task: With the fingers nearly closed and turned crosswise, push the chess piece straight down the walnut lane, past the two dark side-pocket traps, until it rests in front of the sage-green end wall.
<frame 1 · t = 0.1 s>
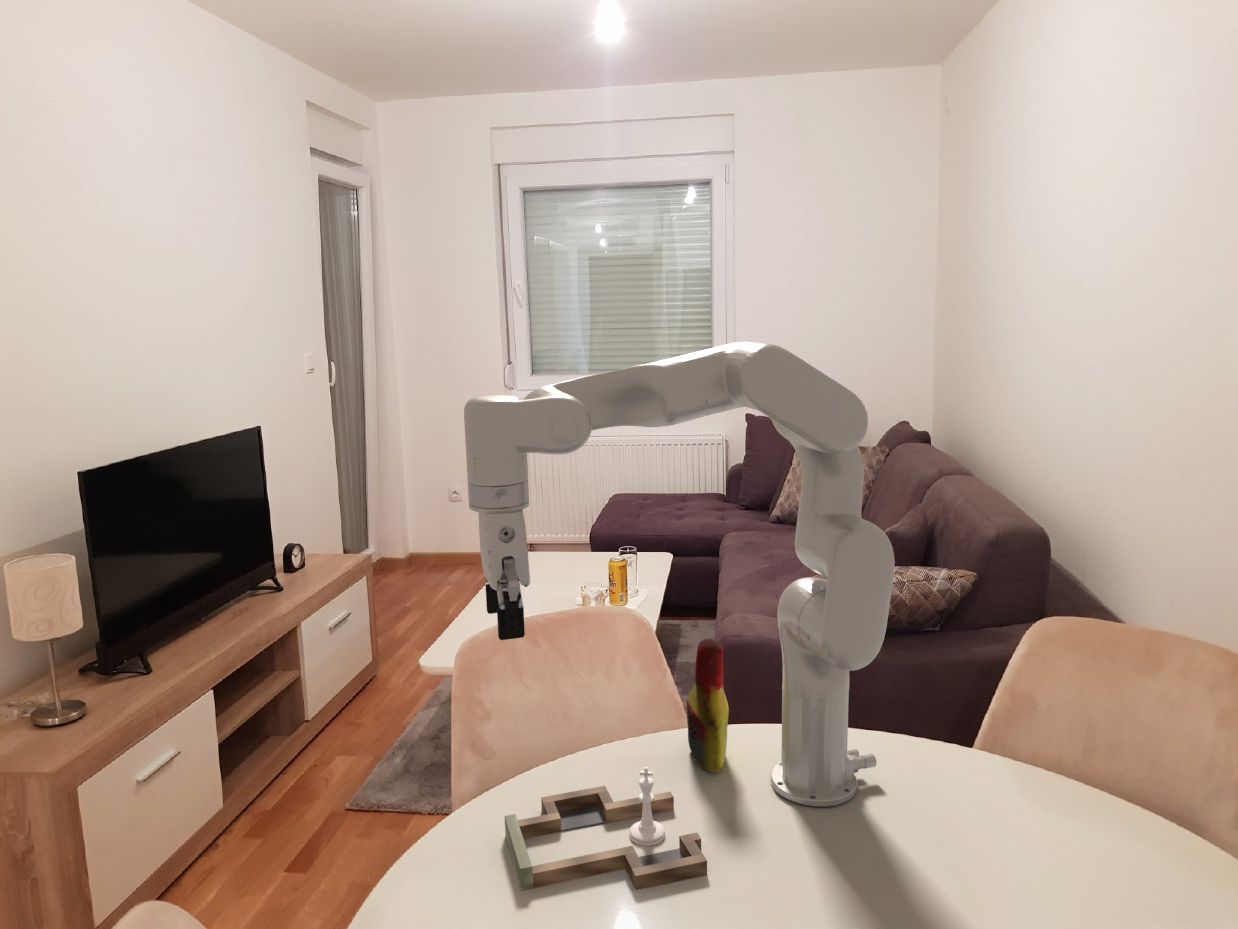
hand: (505, 624, 114), 31 cm above the table, tool pointing down, fingers open, 9 cm apart
trap lane: (601, 844, 119), on the table
chess piece: (647, 836, 121), on the table
bottle: (708, 760, 140), on the table
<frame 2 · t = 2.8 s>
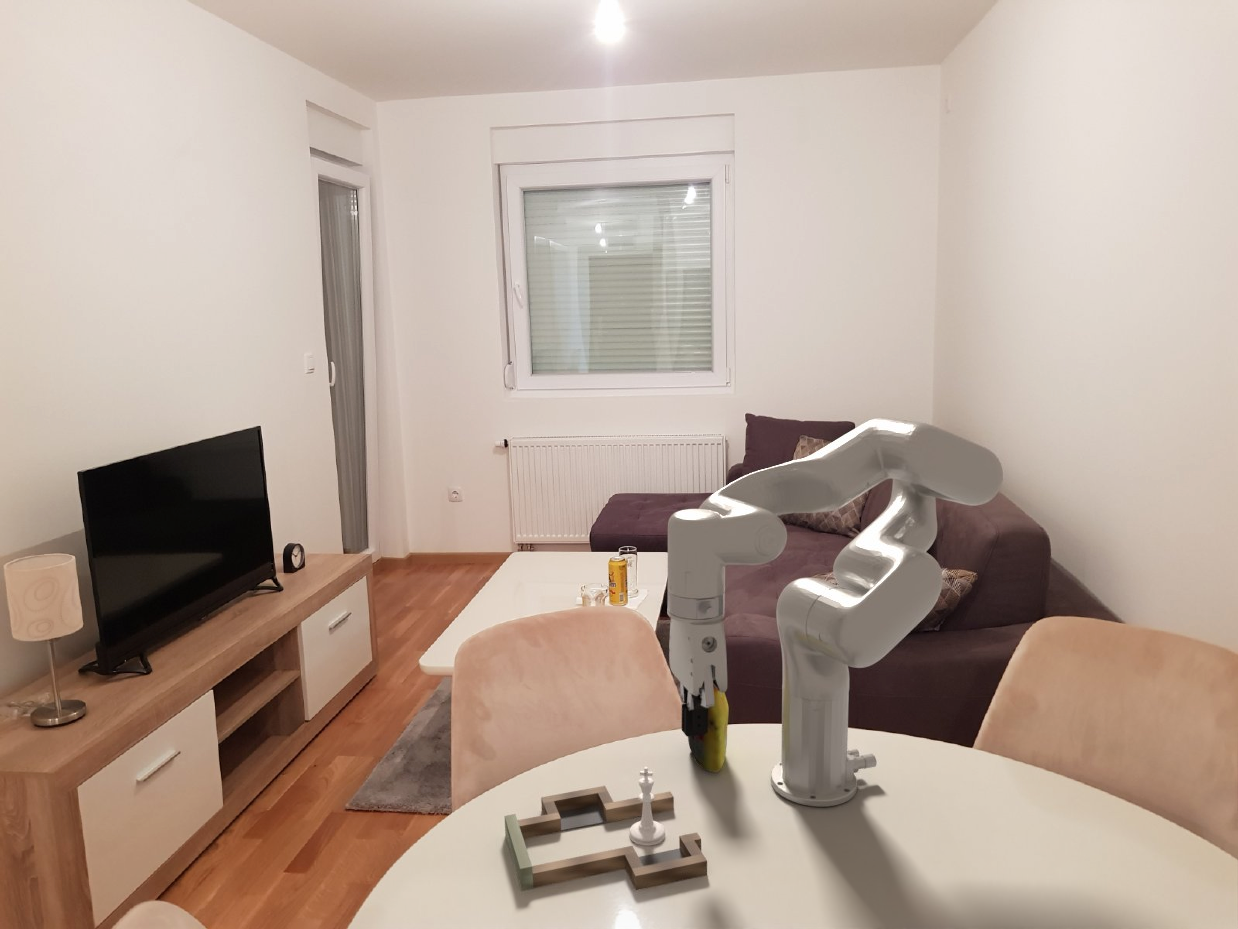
hand: (694, 732, 120), 14 cm above the table, tool pointing down, fingers closed
nothing on the table moved.
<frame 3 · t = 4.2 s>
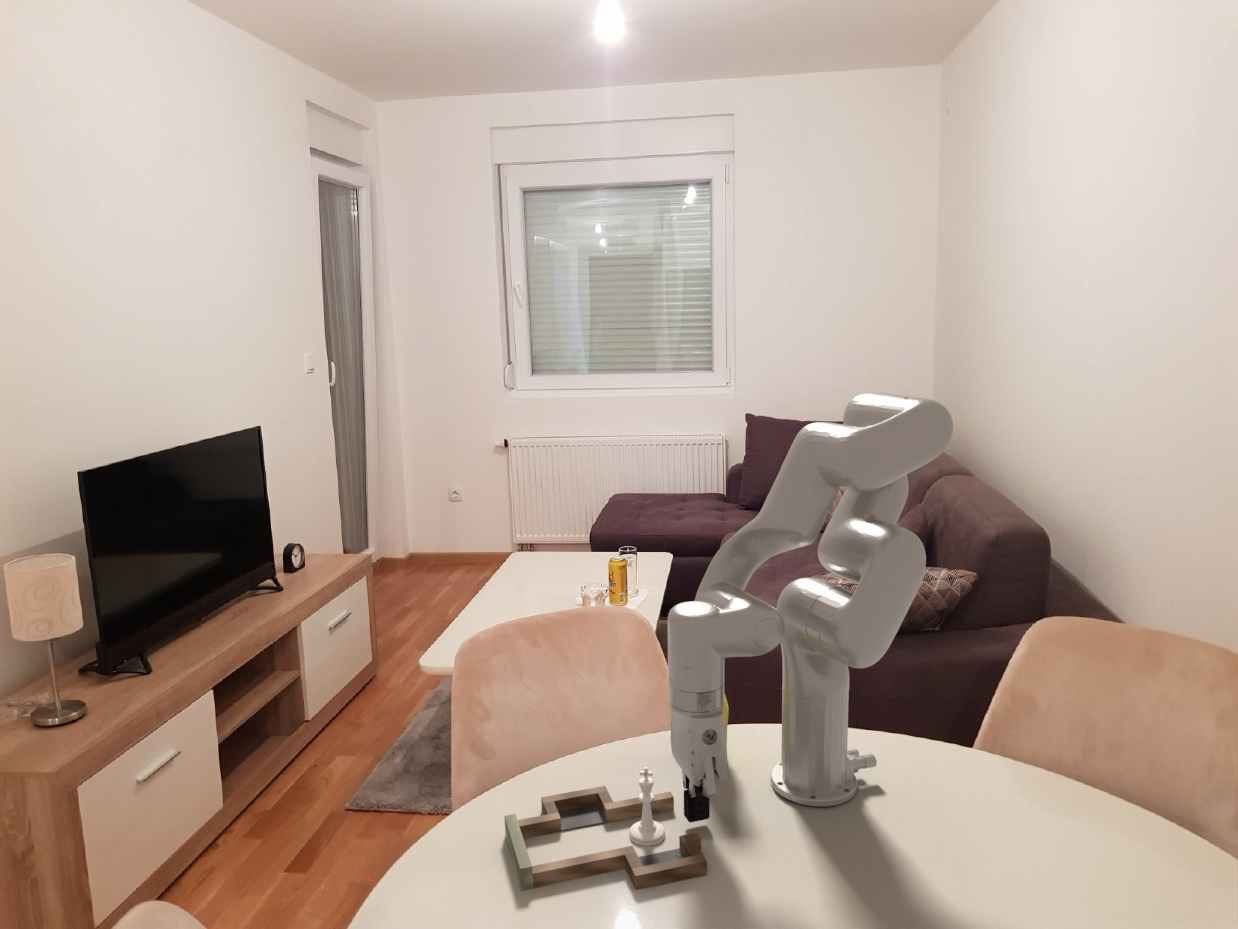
hand: (696, 817, 123), 1 cm above the table, tool pointing down, fingers closed
nothing on the table moved.
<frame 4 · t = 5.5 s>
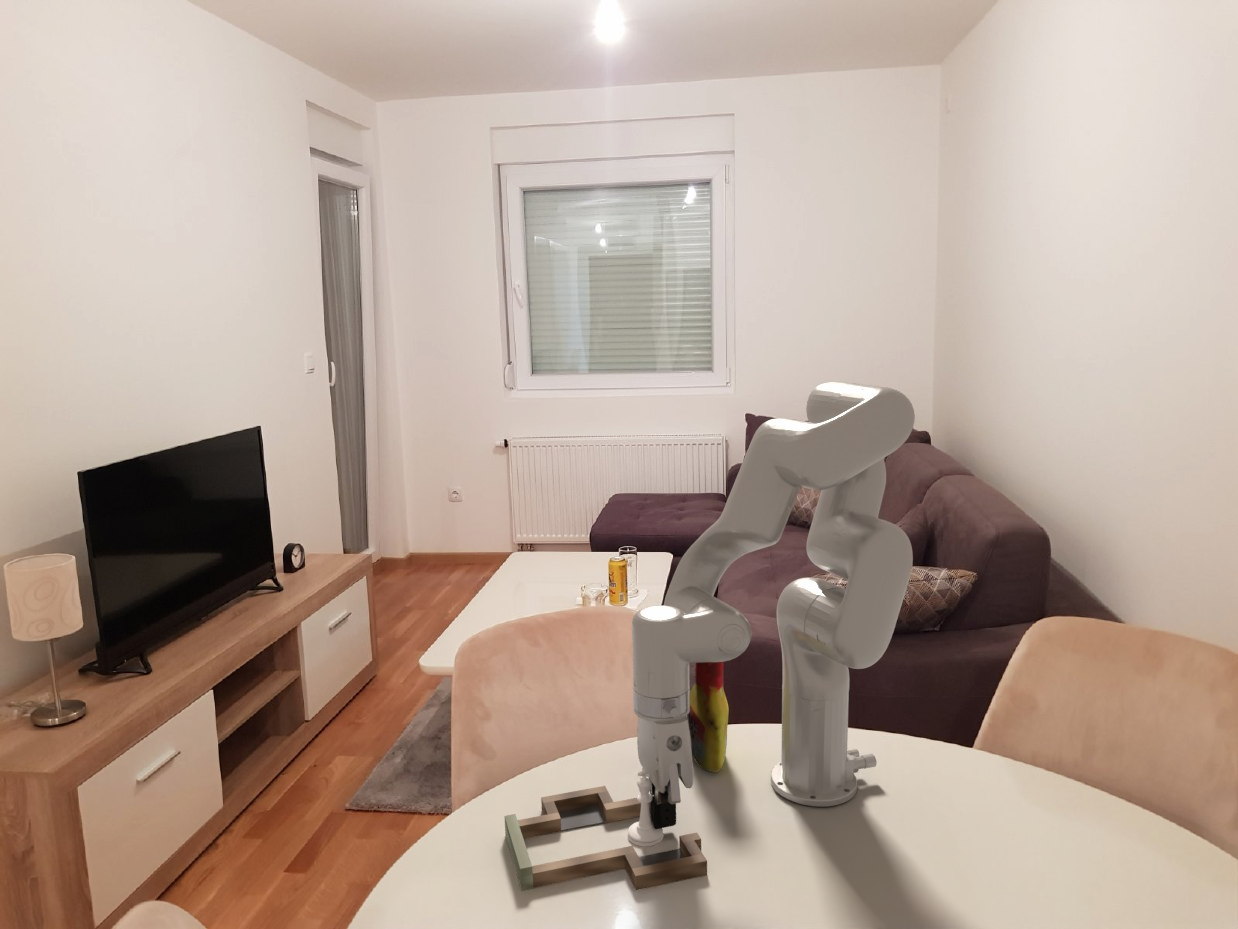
hand: (663, 824, 121), 1 cm above the table, tool pointing down, fingers closed
chess piece: (645, 837, 121), on the table, touching gripper
everything else where it was.
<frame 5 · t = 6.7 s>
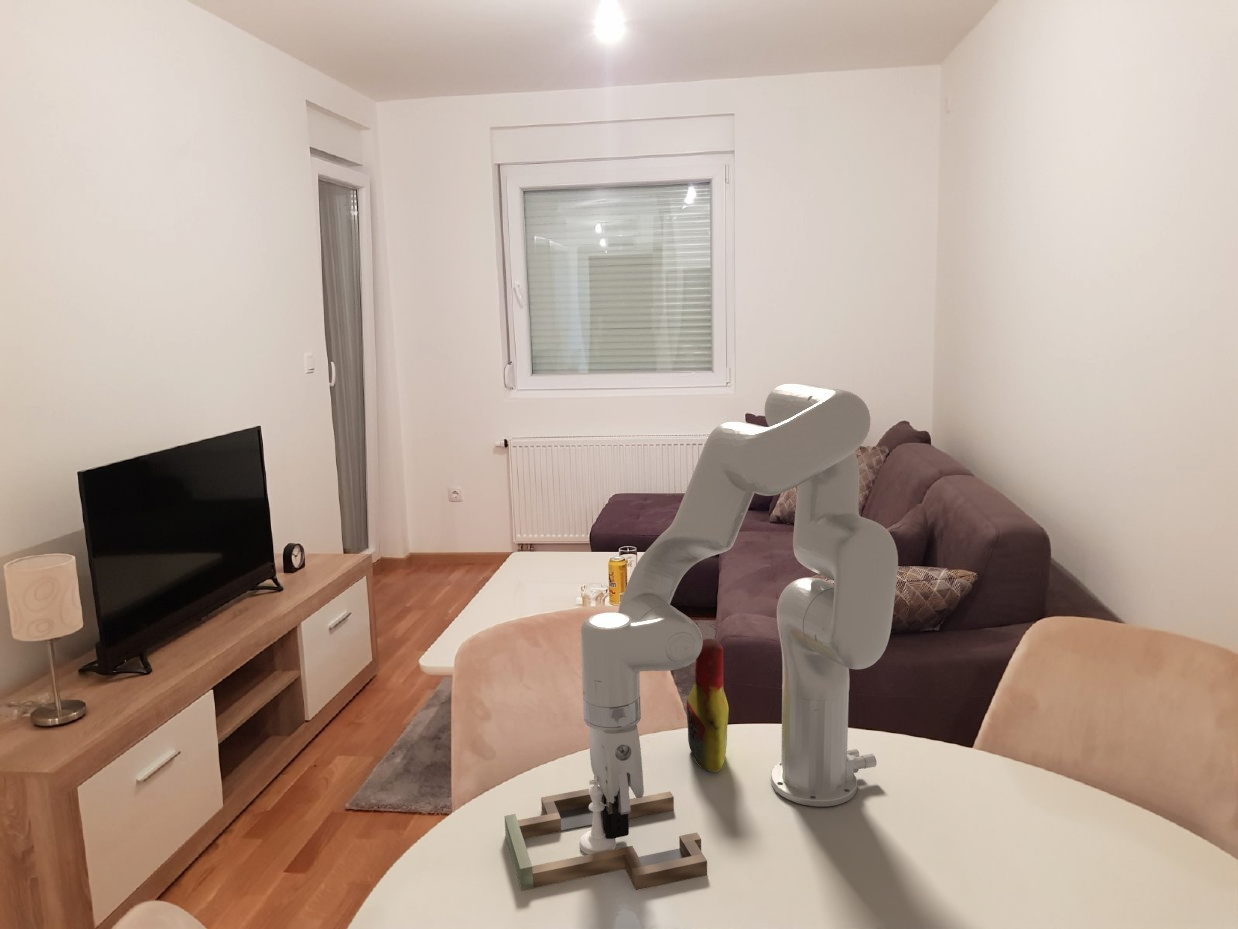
hand: (615, 834, 119), 1 cm above the table, tool pointing down, fingers closed
chess piece: (597, 846, 119), on the table, touching gripper
everything else where it was.
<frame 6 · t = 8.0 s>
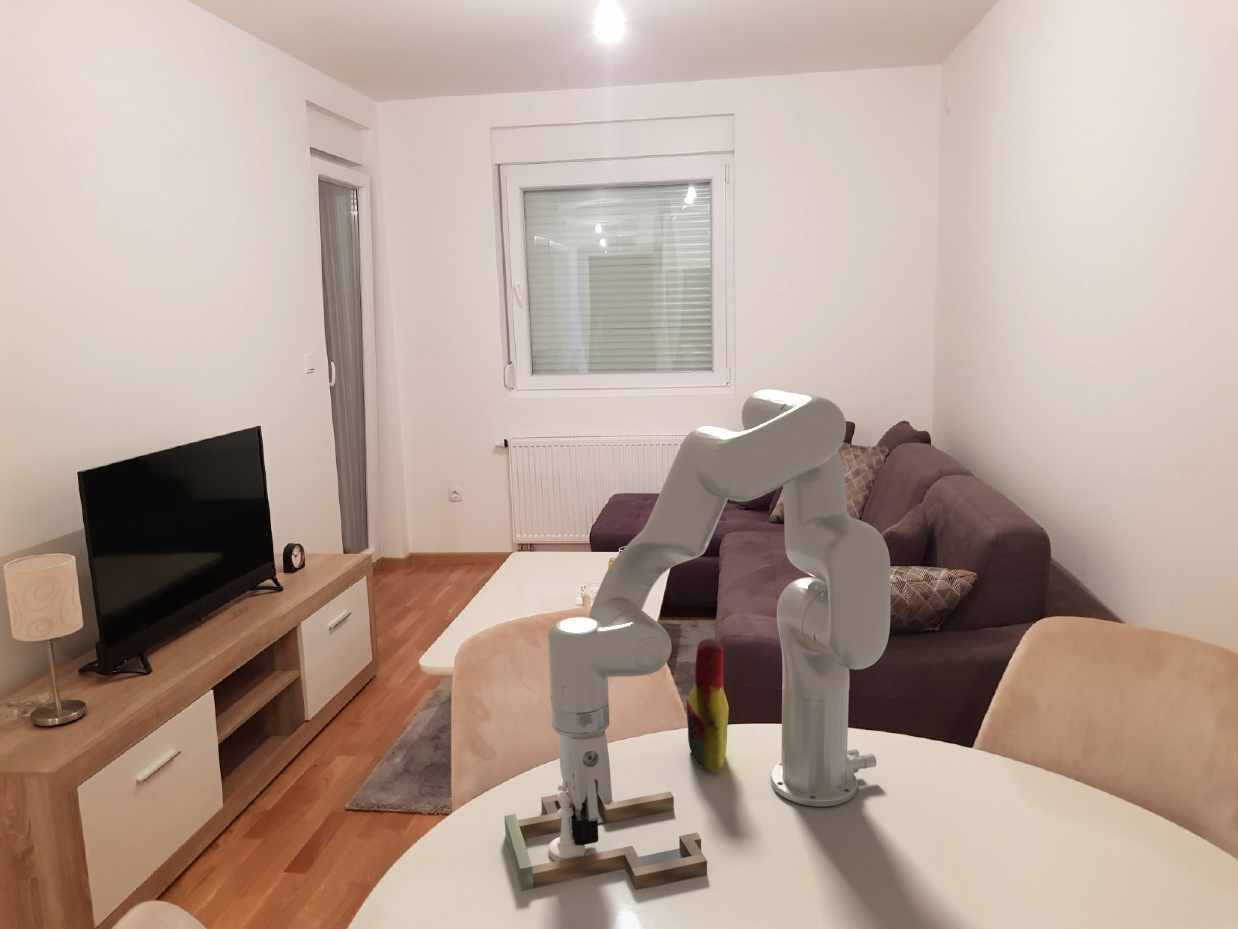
hand: (585, 840, 118), 1 cm above the table, tool pointing down, fingers closed
chess piece: (566, 852, 118), on the table, touching gripper
everything else where it was.
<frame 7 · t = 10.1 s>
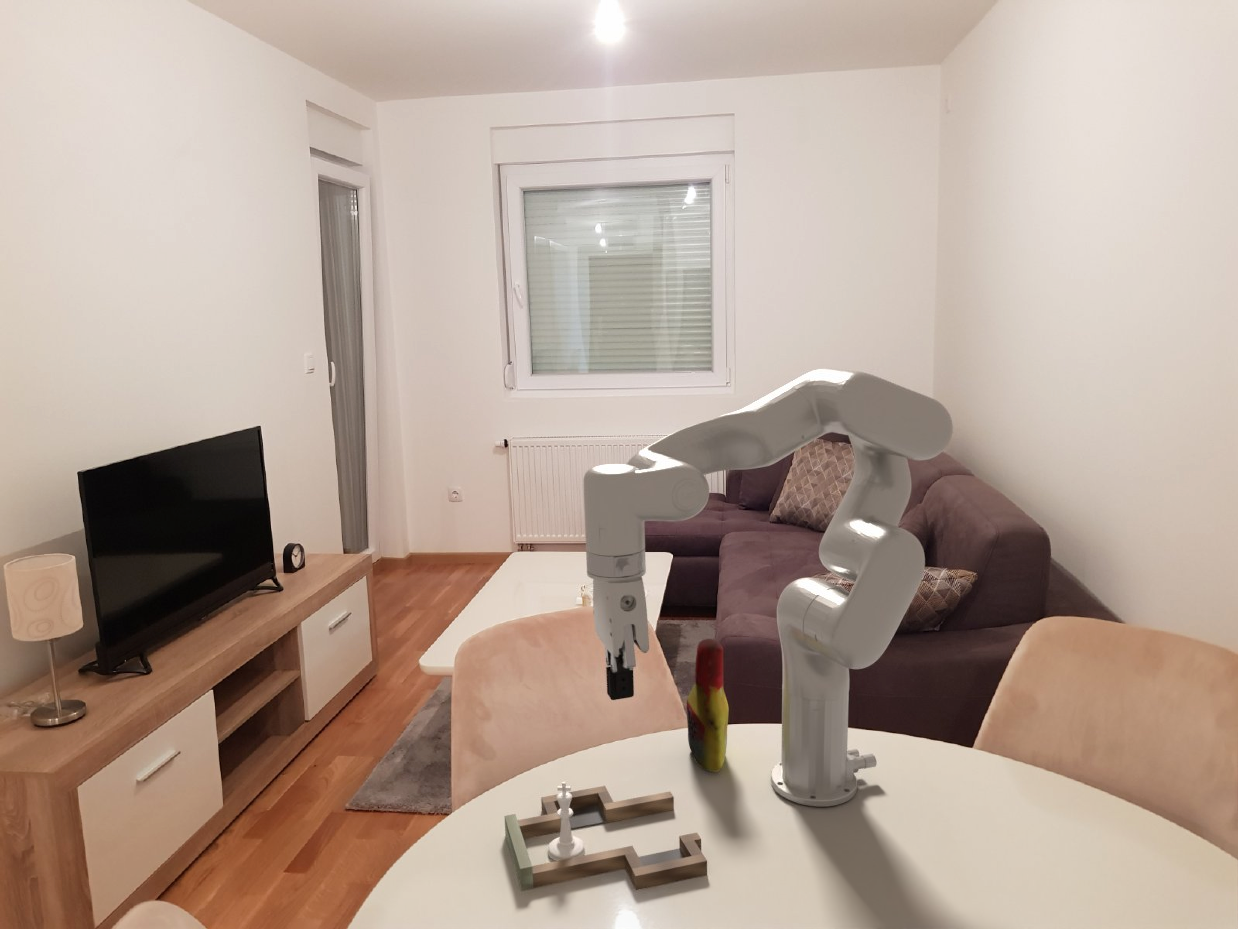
hand: (620, 695, 116), 21 cm above the table, tool pointing down, fingers closed
chess piece: (566, 852, 118), on the table
everything else where it was.
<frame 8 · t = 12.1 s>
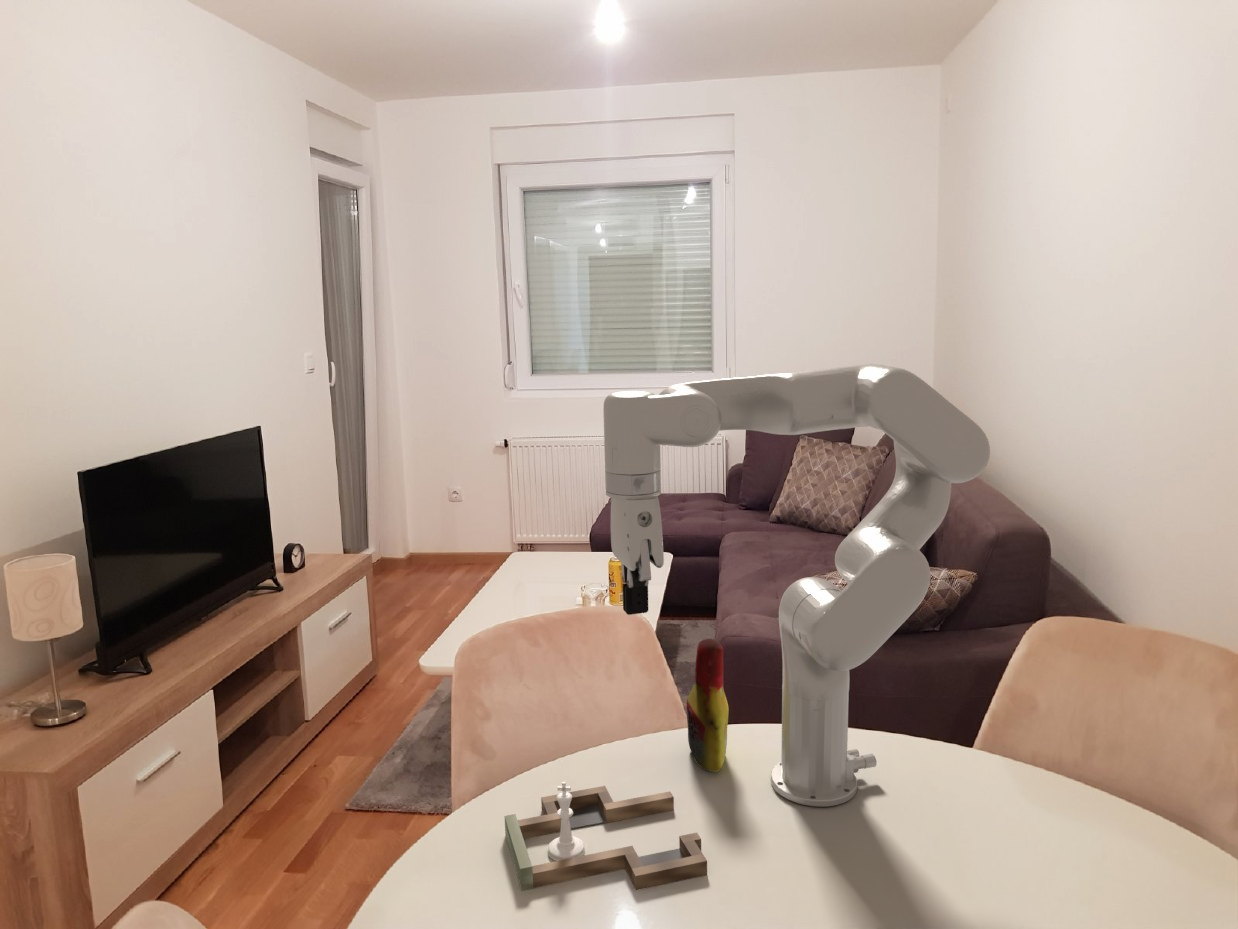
hand: (635, 611, 123), 29 cm above the table, tool pointing down, fingers closed
nothing on the table moved.
at the end: chess piece inside the target area on the trap lane (2.7 cm from its centre), point 0.0 cm above the trap lane's base; chess piece tilted 0°; chess piece moved 11.3 cm from its start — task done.
